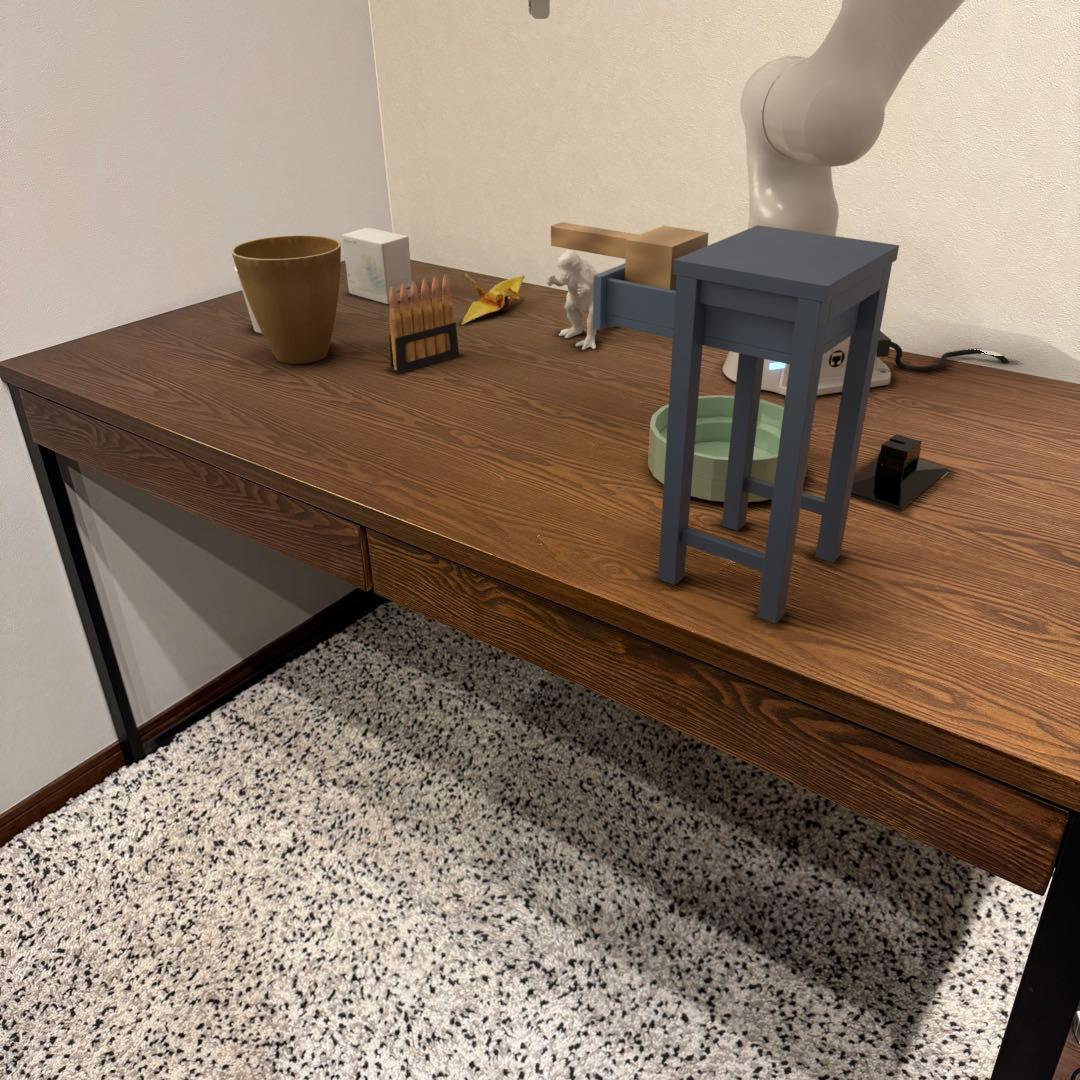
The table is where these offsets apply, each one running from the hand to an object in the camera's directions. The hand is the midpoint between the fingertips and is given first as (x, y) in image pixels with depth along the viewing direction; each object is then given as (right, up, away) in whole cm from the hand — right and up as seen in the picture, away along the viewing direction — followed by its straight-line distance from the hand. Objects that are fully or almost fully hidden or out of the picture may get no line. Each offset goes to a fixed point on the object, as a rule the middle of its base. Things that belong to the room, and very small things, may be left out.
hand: (538, 16), depth 100 cm
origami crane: (-7, -17, +58) cm, 61 cm away
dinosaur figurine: (+8, -24, +46) cm, 53 cm away
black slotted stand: (+39, -49, +4) cm, 63 cm away
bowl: (+21, -48, +6) cm, 52 cm away
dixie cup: (-43, -22, +51) cm, 70 cm away
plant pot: (-35, -28, +40) cm, 60 cm away
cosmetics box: (-28, -13, +66) cm, 72 cm away
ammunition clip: (-16, -30, +37) cm, 50 cm away
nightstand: (+16, -57, -9) cm, 59 cm away
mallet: (+7, -33, -15) cm, 37 cm away
